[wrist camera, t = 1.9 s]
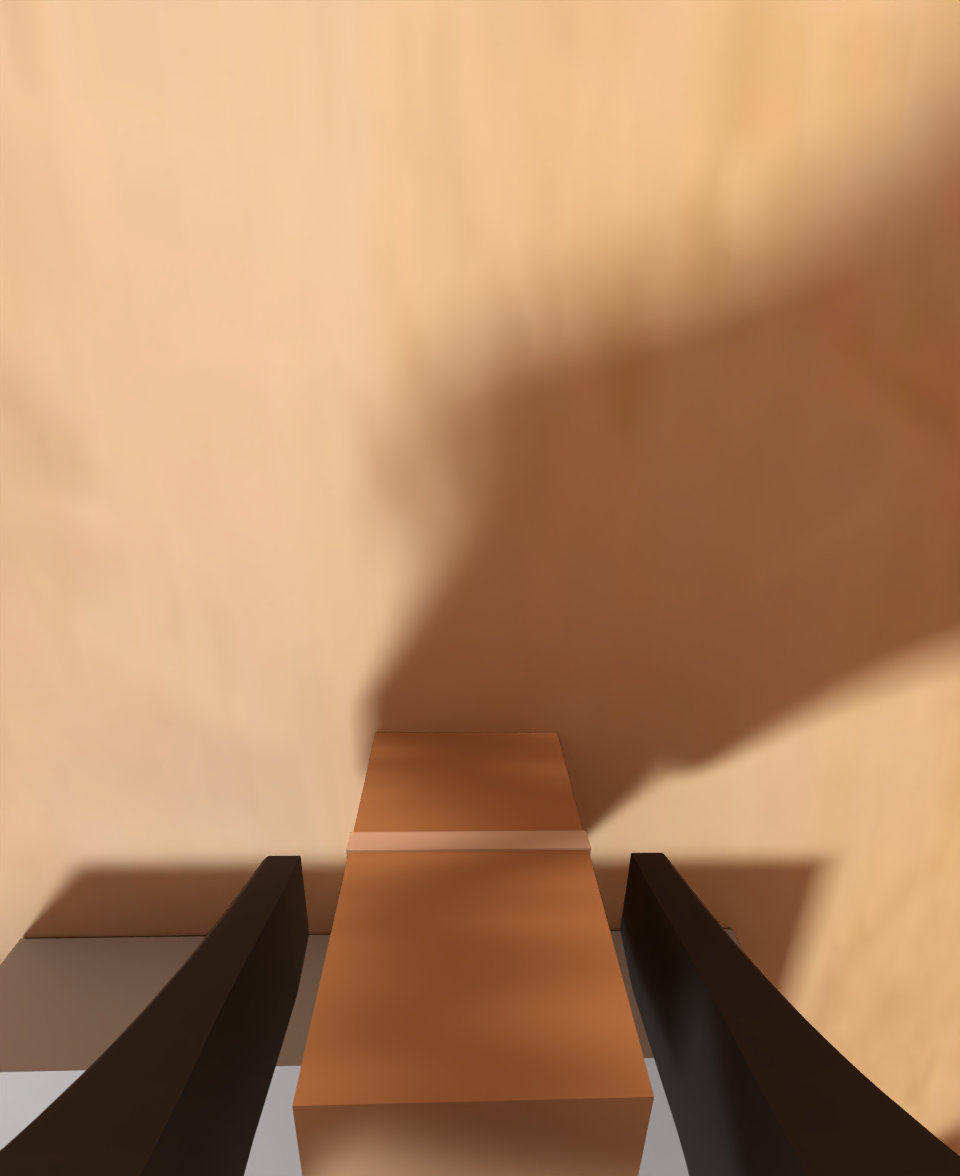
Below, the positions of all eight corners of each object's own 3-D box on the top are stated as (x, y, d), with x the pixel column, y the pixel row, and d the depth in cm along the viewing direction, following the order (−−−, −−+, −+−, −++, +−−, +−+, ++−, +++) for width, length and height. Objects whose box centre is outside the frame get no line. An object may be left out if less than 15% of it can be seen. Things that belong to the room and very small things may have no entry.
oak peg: (558, 730, 13) (658, 1095, 7) (547, 871, 15) (618, 1284, 8) (373, 730, 13) (288, 1104, 6) (380, 873, 14) (315, 1296, 8)
